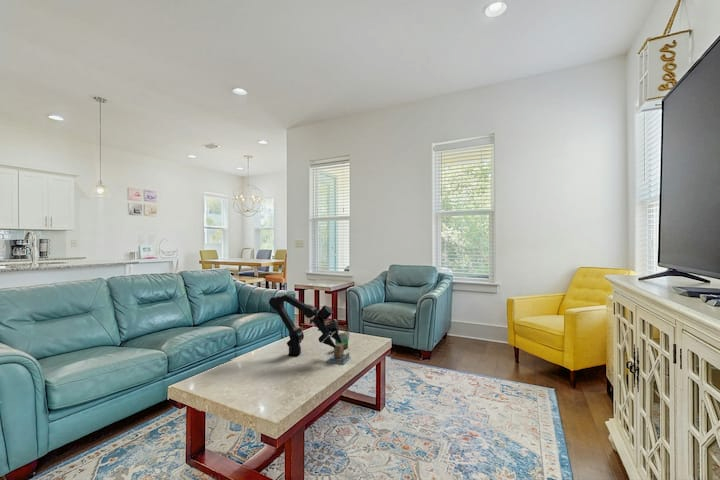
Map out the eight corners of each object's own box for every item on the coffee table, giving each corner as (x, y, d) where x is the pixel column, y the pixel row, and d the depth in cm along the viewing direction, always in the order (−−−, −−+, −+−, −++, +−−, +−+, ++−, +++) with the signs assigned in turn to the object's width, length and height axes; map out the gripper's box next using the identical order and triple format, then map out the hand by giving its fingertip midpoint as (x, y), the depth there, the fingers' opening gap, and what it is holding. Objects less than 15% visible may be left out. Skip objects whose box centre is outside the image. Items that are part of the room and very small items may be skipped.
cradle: (326, 362, 190) (326, 356, 190) (333, 355, 201) (333, 350, 201) (344, 364, 187) (344, 358, 187) (350, 357, 197) (350, 352, 197)
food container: (341, 351, 208) (341, 336, 208) (334, 349, 212) (334, 334, 212) (353, 346, 218) (353, 331, 218) (346, 345, 222) (346, 330, 222)
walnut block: (333, 359, 192) (333, 345, 192) (337, 356, 197) (337, 343, 197) (340, 360, 191) (340, 346, 191) (343, 357, 196) (343, 344, 196)
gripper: (323, 319, 187) (341, 340, 183) (336, 312, 205) (352, 332, 201) (310, 331, 189) (328, 353, 186) (324, 324, 207) (340, 343, 204)
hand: (338, 344), depth 194 cm, fingers open, 9 cm apart
